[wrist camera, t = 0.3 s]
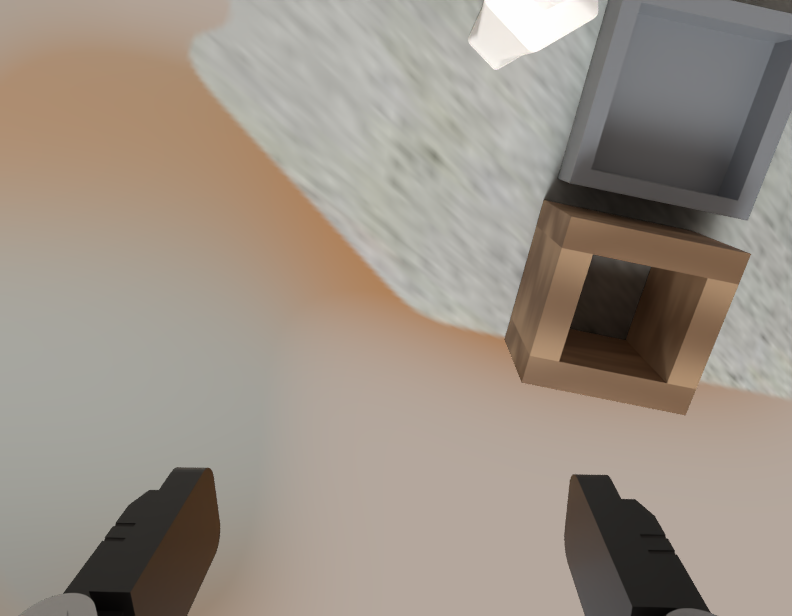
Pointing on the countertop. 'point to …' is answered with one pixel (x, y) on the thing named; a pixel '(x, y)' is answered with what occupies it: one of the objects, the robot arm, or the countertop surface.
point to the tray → (683, 103)
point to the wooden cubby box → (654, 318)
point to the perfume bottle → (525, 26)
